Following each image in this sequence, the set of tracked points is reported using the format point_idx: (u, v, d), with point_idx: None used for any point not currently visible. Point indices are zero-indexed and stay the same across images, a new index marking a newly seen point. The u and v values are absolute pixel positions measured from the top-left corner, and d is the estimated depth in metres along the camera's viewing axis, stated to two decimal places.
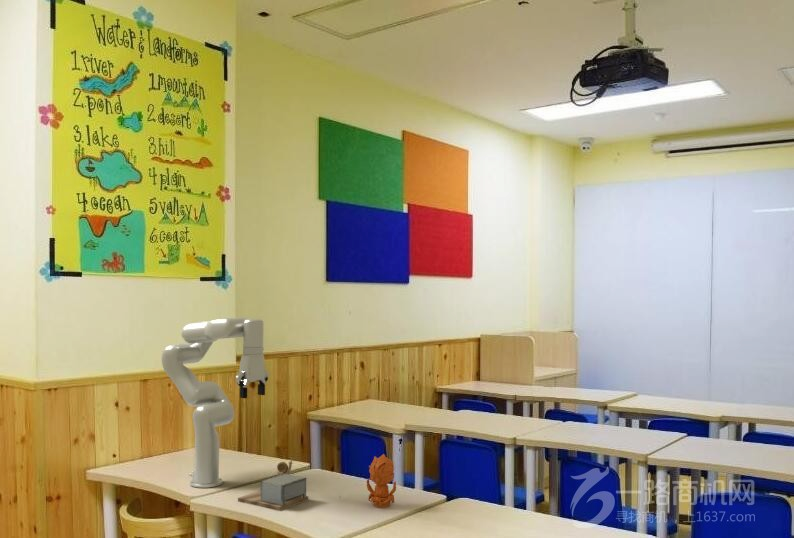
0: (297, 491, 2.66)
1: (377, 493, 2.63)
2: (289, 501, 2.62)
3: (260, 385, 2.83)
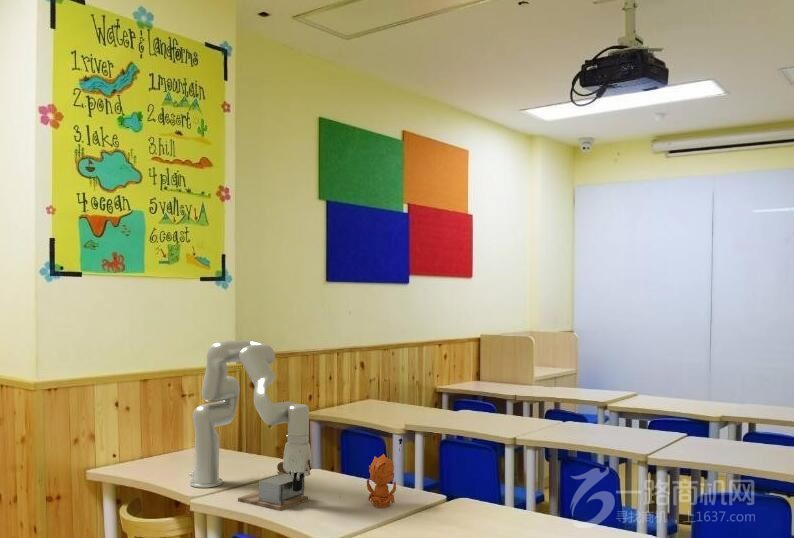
0: None
1: (377, 493, 2.63)
2: (289, 501, 2.62)
3: None
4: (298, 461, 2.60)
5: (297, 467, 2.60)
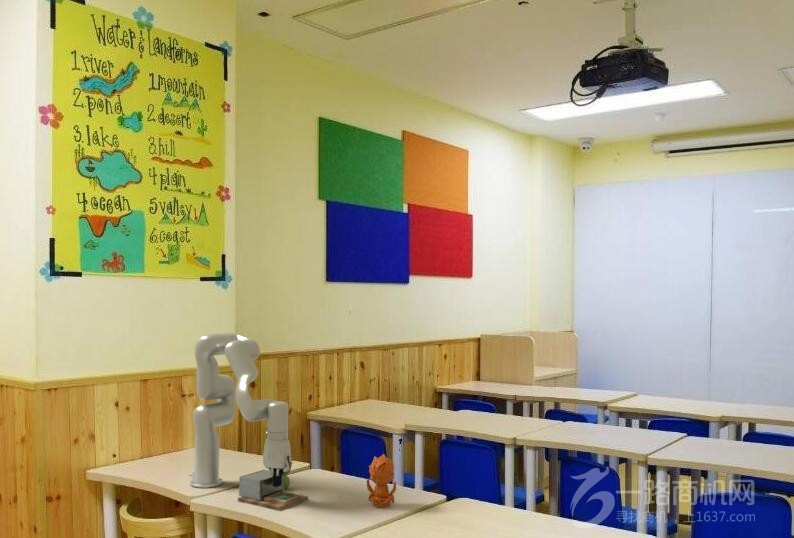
0: None
1: (377, 493, 2.63)
2: (289, 501, 2.62)
3: None
4: (277, 457, 2.65)
5: (276, 463, 2.66)
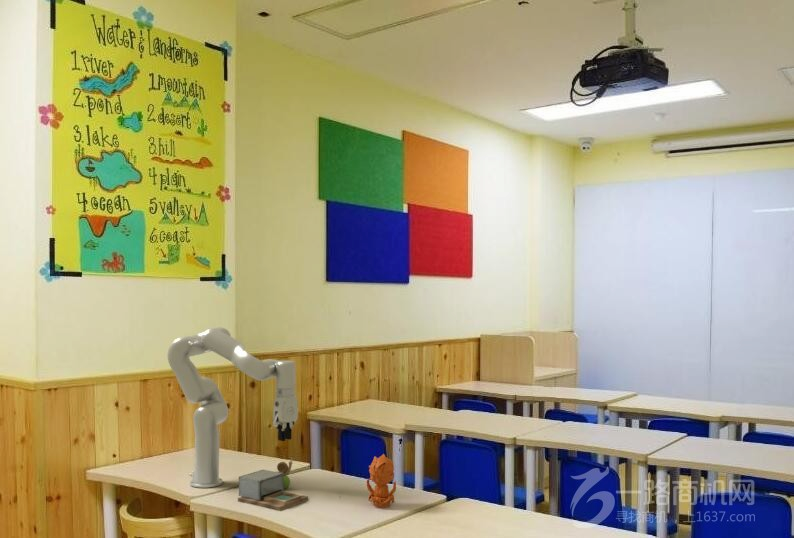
0: (275, 486, 2.72)
1: (377, 493, 2.63)
2: (289, 501, 2.62)
3: None
4: (294, 410, 2.87)
5: (294, 416, 2.86)
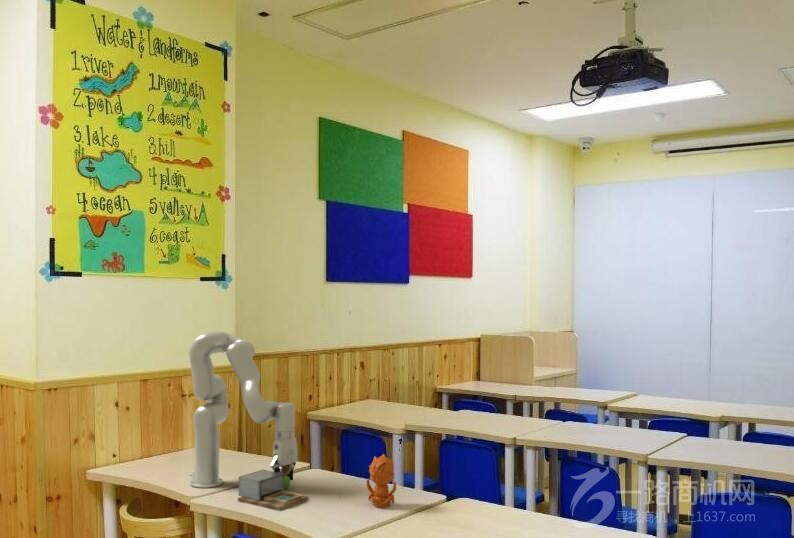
0: (275, 486, 2.72)
1: (377, 493, 2.63)
2: (289, 501, 2.62)
3: None
4: (294, 452, 2.86)
5: (293, 458, 2.86)
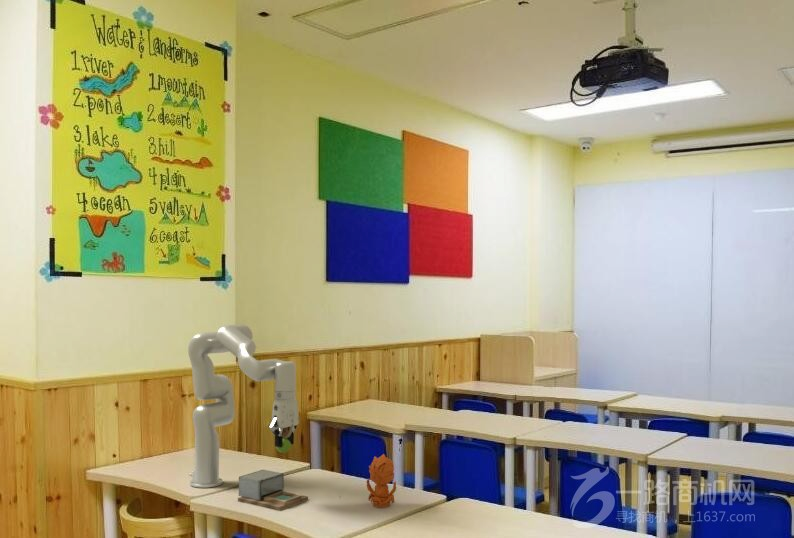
0: (275, 486, 2.72)
1: (377, 493, 2.63)
2: (289, 501, 2.62)
3: None
4: (295, 414, 2.69)
5: (294, 420, 2.68)
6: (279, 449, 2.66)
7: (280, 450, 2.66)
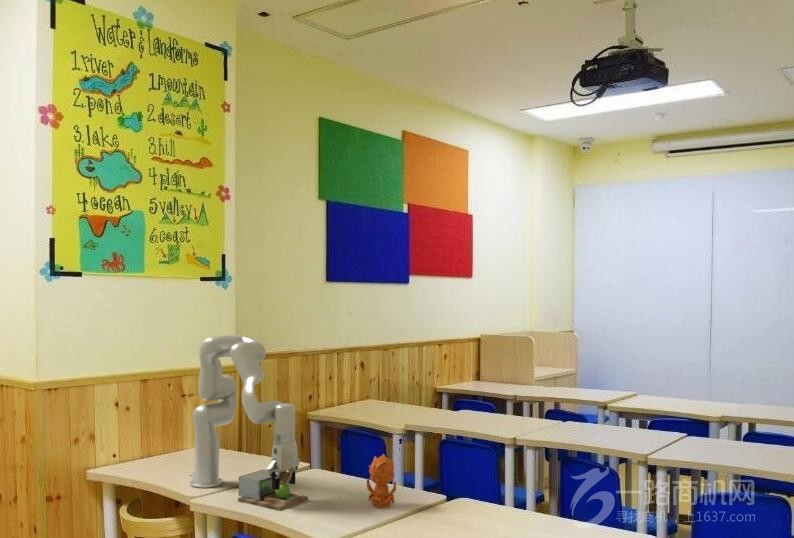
0: None
1: (377, 493, 2.63)
2: (289, 501, 2.62)
3: None
4: (294, 457, 2.68)
5: (293, 463, 2.68)
6: (278, 495, 2.65)
7: (279, 496, 2.65)
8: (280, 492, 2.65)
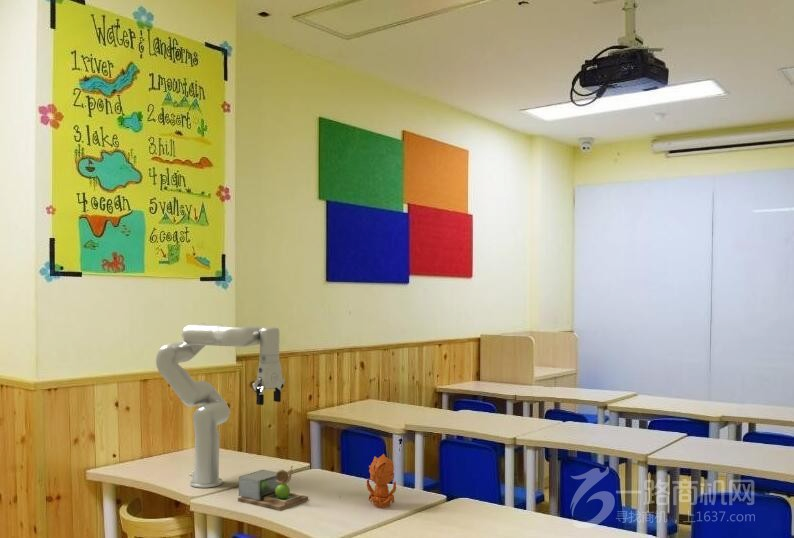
0: (275, 486, 2.72)
1: (377, 493, 2.63)
2: (289, 501, 2.62)
3: None
4: (278, 377, 2.86)
5: (278, 382, 2.86)
6: (278, 495, 2.65)
7: (279, 496, 2.65)
8: (280, 492, 2.65)
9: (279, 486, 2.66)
